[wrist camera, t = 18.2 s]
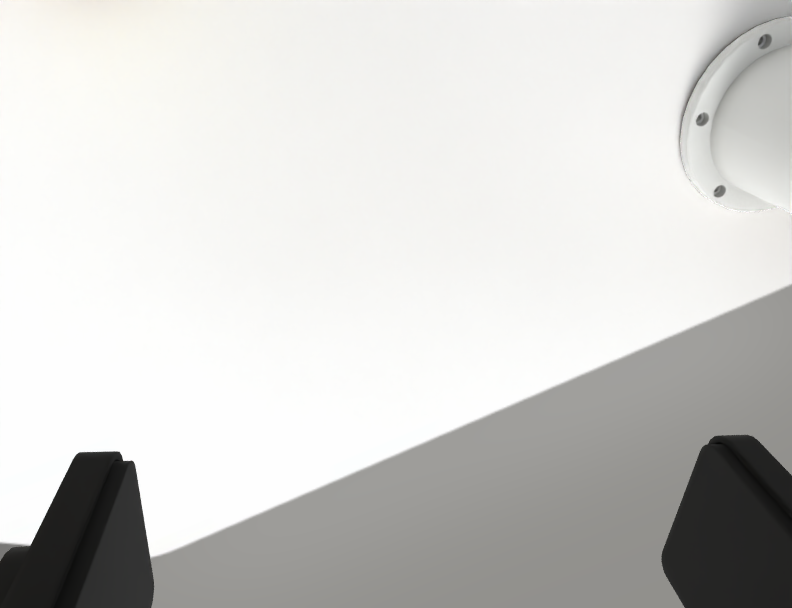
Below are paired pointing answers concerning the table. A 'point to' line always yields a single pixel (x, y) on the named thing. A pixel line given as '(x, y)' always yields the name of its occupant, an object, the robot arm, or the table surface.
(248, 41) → the table surface
